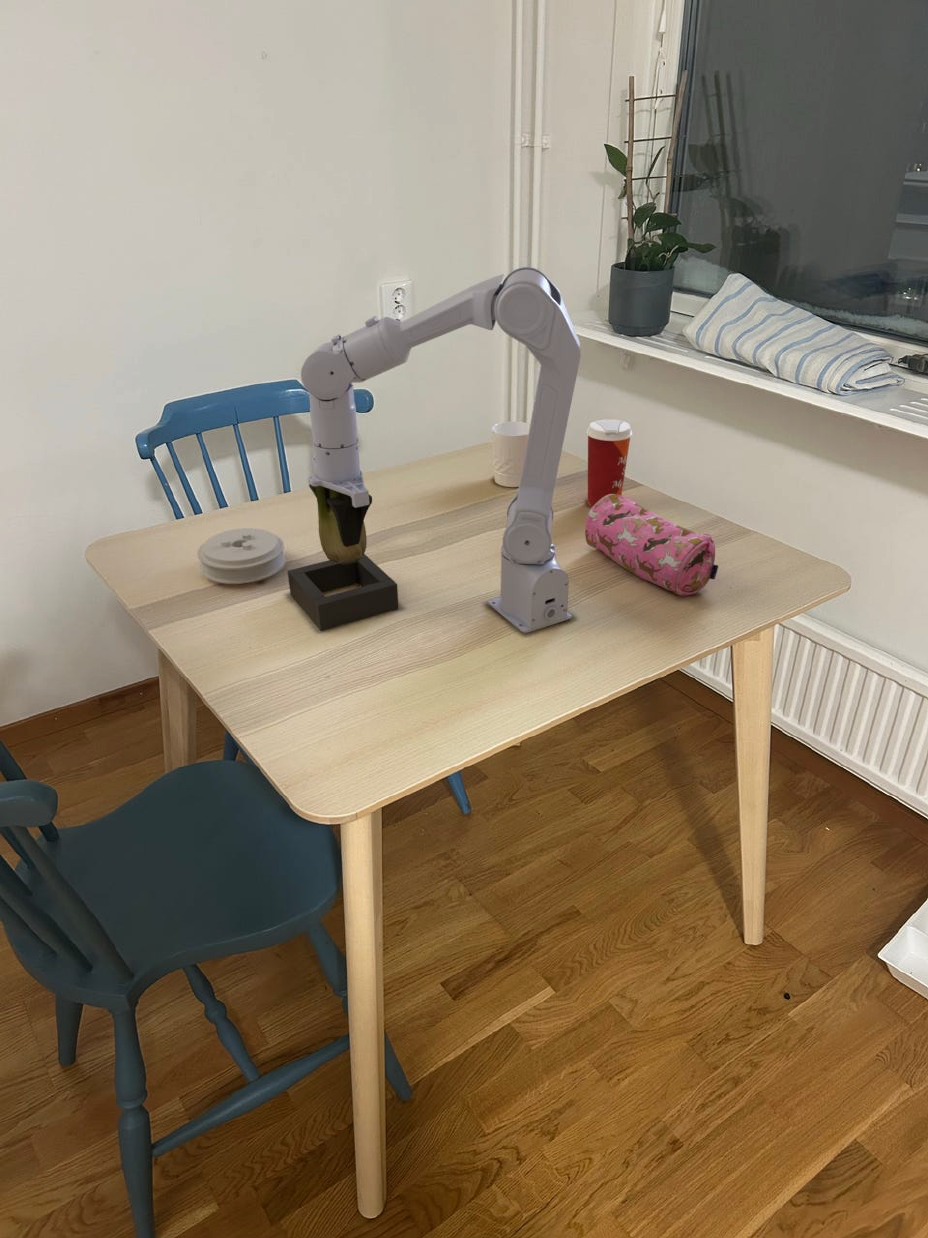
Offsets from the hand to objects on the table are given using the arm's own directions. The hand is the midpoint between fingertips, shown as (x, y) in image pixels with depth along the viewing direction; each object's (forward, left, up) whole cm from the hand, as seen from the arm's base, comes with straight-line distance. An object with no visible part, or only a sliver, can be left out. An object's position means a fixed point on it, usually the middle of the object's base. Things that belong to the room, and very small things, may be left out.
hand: (344, 537), depth 121 cm
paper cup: (+9, -52, -10) cm, 54 cm away
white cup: (+26, -44, -10) cm, 52 cm away
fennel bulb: (0, 0, -4) cm, 4 cm away
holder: (0, +1, -10) cm, 10 cm away
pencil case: (-14, -42, -10) cm, 46 cm away
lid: (+17, +10, -10) cm, 22 cm away
